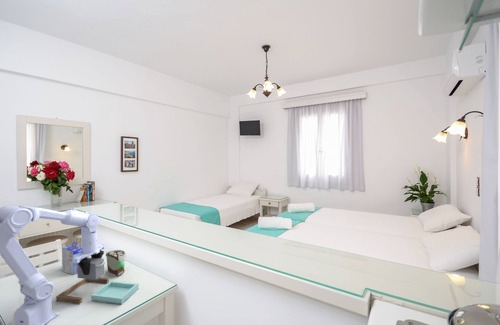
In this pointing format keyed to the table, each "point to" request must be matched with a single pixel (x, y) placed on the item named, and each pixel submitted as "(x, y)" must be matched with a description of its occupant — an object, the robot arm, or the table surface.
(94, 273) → the gray box with handle
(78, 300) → the frame
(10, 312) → the table surface
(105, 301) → the tray
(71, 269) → the ink cartridge box
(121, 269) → the food container
